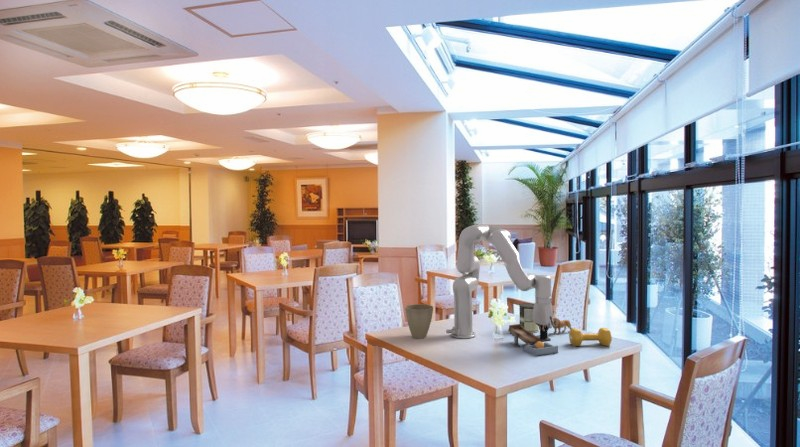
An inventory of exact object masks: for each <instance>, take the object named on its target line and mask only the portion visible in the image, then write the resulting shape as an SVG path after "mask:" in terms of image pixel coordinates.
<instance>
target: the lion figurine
mask: <svg viewBox="0 0 800 447" xmlns="http://www.w3.org/2000/svg"><path fill="white" fill-rule="evenodd" d="M552 328H553V329H554V332H553V334H558V335H561V329H562V328H564V329H563V330H562V333H564V332H565V331H566V330H567V328H568V329H569V330H570V329H571V328H572V325H571V321H570V320H568V319H564V320H560V319H559V318H558V317H553V325H552ZM557 330H558V331H557Z"/></svg>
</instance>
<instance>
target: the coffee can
mask: <svg viewBox="0 0 800 447" xmlns="http://www.w3.org/2000/svg"><path fill="white" fill-rule="evenodd" d="M518 307H519V324H522V327H524V328H525V329H527V330H528V331H529V332H532V333H533V334H536V333H538V332H540V330H539V326H538V325H537V324H536V323H534V322H533V309H534V303H530V302H529V303H527V302H526V303H525V302H524V303H520V304H519V306H518Z"/></svg>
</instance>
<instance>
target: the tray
mask: <svg viewBox="0 0 800 447" xmlns="http://www.w3.org/2000/svg"><path fill="white" fill-rule="evenodd" d="M543 344H544V348H539V349H537V348H536V347H535V344H534V345H532V344H529V345H528V344H526V345H524V347H523V348H524V352H527V353H529V354H531V355H534V356H537V357H540V356H546V355H547V356H548V355H554V354H559V346H558V345H553V344H550V343H548V342H543Z"/></svg>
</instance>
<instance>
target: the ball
mask: <svg viewBox="0 0 800 447" xmlns="http://www.w3.org/2000/svg"><path fill="white" fill-rule="evenodd" d="M543 343H544V342H541V341H538V342H536V344H534V345H535V347H536V348H537V349H539V348H544V344H543Z"/></svg>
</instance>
